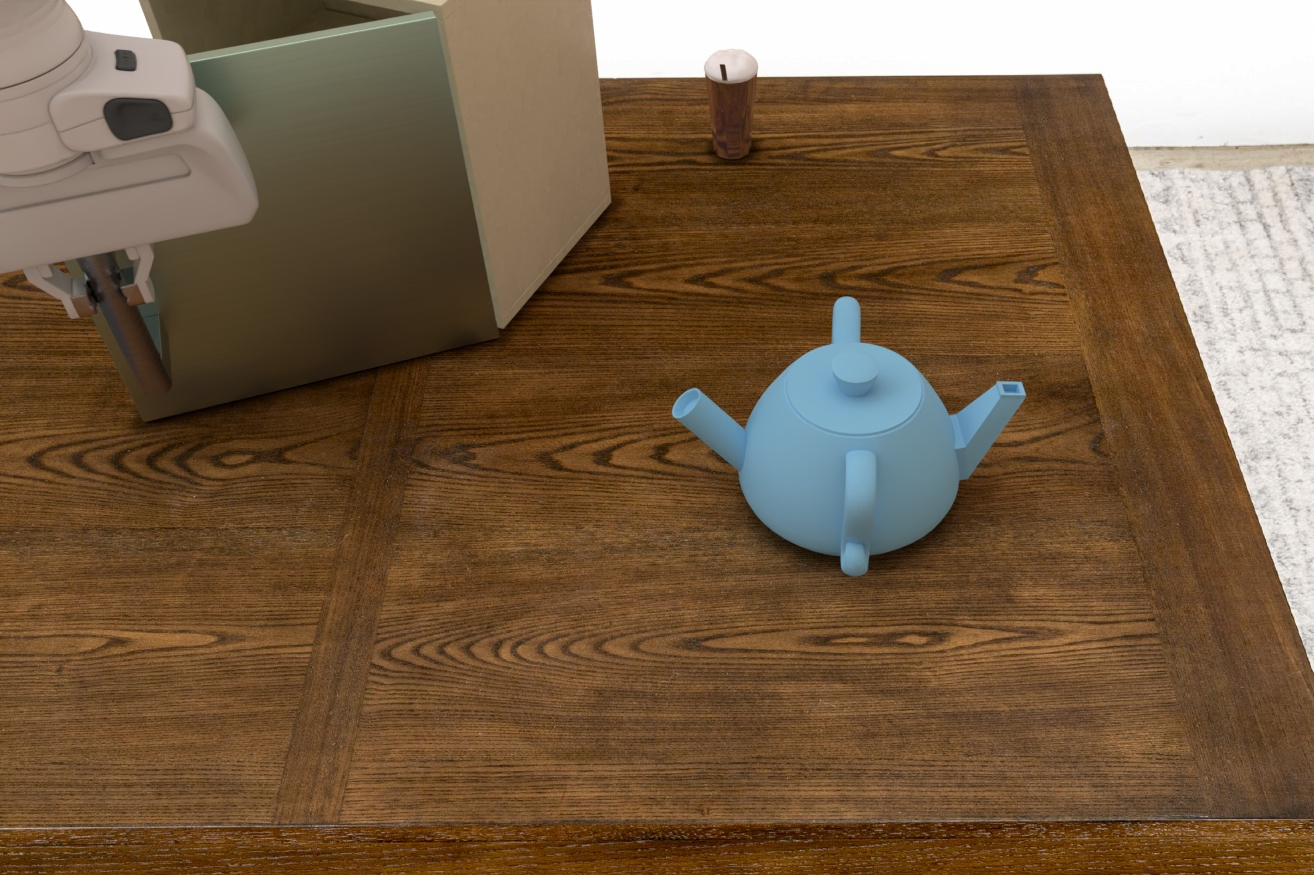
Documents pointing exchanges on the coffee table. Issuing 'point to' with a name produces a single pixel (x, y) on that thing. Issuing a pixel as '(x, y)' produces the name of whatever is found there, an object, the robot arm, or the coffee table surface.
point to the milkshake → (731, 100)
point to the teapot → (852, 446)
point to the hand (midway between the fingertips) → (114, 304)
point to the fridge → (473, 110)
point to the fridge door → (312, 228)
